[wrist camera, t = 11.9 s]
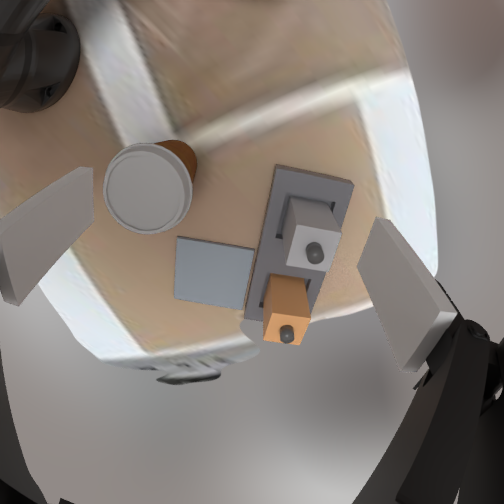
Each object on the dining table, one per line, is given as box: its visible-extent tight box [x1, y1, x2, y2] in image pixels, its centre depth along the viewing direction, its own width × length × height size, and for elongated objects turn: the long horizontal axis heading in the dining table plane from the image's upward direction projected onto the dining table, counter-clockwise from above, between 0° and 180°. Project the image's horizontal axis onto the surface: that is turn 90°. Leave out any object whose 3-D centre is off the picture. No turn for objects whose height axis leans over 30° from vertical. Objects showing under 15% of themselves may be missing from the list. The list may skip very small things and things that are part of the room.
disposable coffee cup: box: [103, 140, 197, 234], centre depth 34 cm, size 10×10×12 cm
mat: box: [174, 236, 254, 310], centre depth 47 cm, size 11×11×1 cm
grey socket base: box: [244, 164, 354, 321], centre depth 40 cm, size 10×24×11 cm, turn 170°
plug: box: [263, 273, 311, 345], centre depth 43 cm, size 5×5×11 cm
